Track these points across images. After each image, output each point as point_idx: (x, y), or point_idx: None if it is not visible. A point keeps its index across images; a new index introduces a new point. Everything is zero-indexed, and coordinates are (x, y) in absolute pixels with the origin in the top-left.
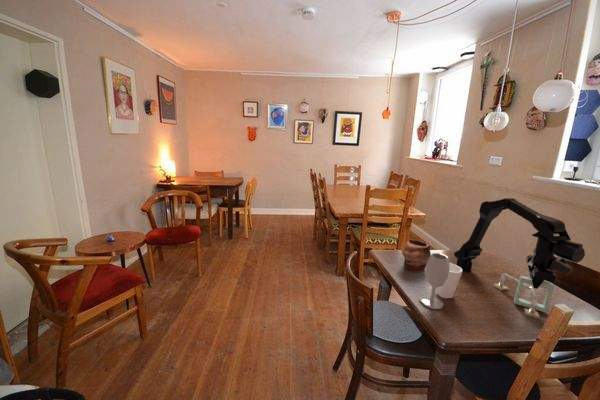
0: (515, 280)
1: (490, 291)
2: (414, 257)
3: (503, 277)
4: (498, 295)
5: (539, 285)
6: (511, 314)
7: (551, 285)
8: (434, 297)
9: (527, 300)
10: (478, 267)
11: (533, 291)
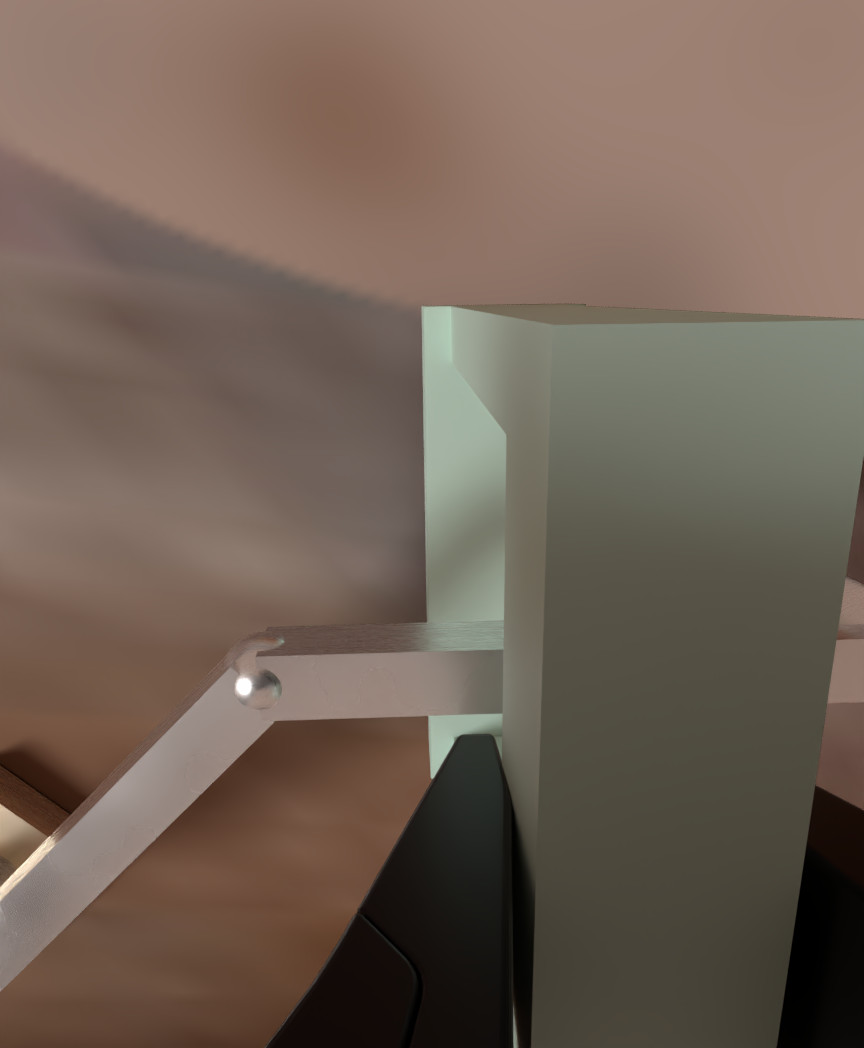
0: (30, 954)
1: (278, 966)
2: None
3: None
4: (337, 880)
5: (845, 813)
6: (850, 760)
7: (840, 433)
8: None
9: (436, 600)
10: None
11: None
